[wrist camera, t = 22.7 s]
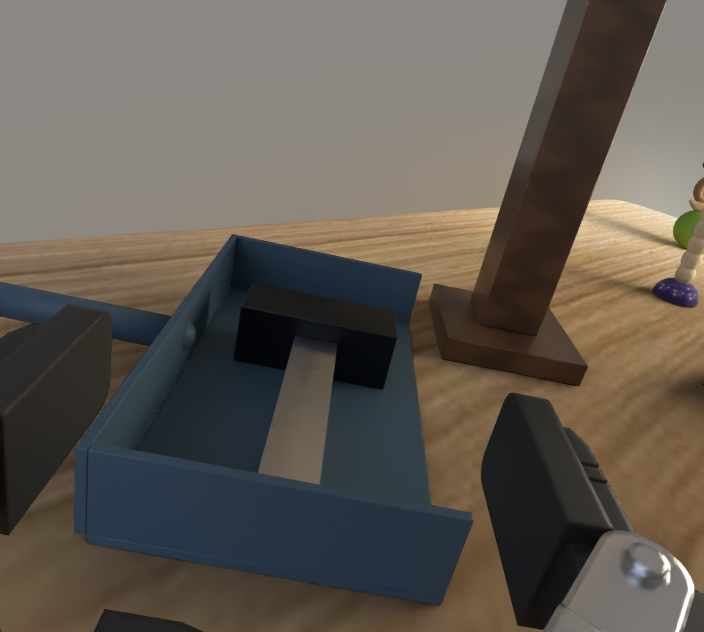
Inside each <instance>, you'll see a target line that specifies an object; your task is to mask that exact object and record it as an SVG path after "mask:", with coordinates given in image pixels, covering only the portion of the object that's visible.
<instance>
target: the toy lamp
mask: <svg viewBox="0 0 704 632" xmlns="http://www.w3.org/2000/svg"><path fill="white" fill-rule="evenodd" d="M703 167H704V163H703ZM703 253H704V207H703V209H702V211H701V214H700V220H699V221H698V222H697V223H696V225H695V227H694V230H693V236H692V237H691V238H690V239H689V241H688V244H687V251H686V252H685V253H684V254H683V256H682V259H681V265H680V266H679V267H678V269H677V271H676V273H675V278H667V279H664V280H662V281H660V282H659V283H657V284H656V285H655V287H654V288H653V290H652V292H653V293H654V294H655V295H656V296H658V297H660V298H662V299H664V300H666V301H668V302H671V303H674V304H677V305H681V306H687V307H694V306H697V304H698V298H699V297H698V292H697V290H696V289H695V287H694V286H693V285H691V284H690V283H691V282H692V281H693V279H694V277H695V274H696V269H697V268H698V267H699V265H700V264H701V261H702V254H703Z"/></svg>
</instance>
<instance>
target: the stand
mask: <svg viewBox="0 0 704 632" xmlns="http://www.w3.org/2000/svg"><path fill="white" fill-rule="evenodd" d="M666 2H667V0H568V1H567V4H566V7H565V10H564V13H563V16H562V19H561V22H560V25H559V28H558V31H557V35H556V38H555V41H554V44H553V47H552V50H551V53H550V57H549V59H548V62H547V66H546V69H545V72H544V75H543V78H542V81H541V84H540V87H539V90H538V93H537V96H536V100H535V103H534V106H533V109H532V112H531V115H530V118H529V121H528V124H527V128H526V130H525V134H524V137H523V140H522V143H521V146H520V149H519V152H518V155H517V158H516V162H515V165H514V168H513V171H512V174H511V177H510V180H509V183H508V186H507V189H506V192H505V196H504V199H503V202H502V205H501V208H500V211H499V214H498V217H497V220H496V223H495V226H494V229H493V233H492V236H491V239H490V242H489V245H488V248H487V251H486V254H485V257H484V260H483V263H482V267H481V270H480V273H479V276H478V279H477V282H476V285H475V288H474V291H473V292H472V291H468V290H463V289H458V288H453V287H448V286H444V285H439V284H434V286H433V289H432V292H431V296H430V299H429V302H430V307H431V312H432V316H433V321H434V325H435V330H436V334H437V339H438V344H439V348H440V353H441V357H442V358H443V359H448V360H453V361H458V362H463V363H468V364H473V365H478V366H483V367H488V368H492V369H497V370H502V371H507V372H512V373H517V374H522V375H527V376H532V377H537V378H542V379H547V380H552V381H557V382H562V383H567V384H572V385H577V386H580V384H581V381H582V379H583V377H584V375H585V372H586V370H587V368H588V366H587V364H586V363H585V361H584V360H583V358H582V357H581V355H580V354H579V352H578V351H577V349H576V348H575V346H574V345H573V343H572V342H571V340H570V339H569V337H568V336H567V334H566V333H565V331H564V330H563V328H562V327H561V325H560V324H559V322H558V321H557V319H556V318H555V316H554V315H553V313H552V312H551V310H550V309H549V304H550V302H551V299H552V297H553V294H554V291H555V289H556V286H557V284H558V281H559V279H560V276H561V273H562V271H563V268H564V266H565V263H566V261H567V258H568V255H569V253H570V250H571V248H572V245H573V242H574V240H575V237H576V235H577V232H578V230H579V227H580V224H581V222H582V219H583V217H584V214H585V211H586V209H587V206H588V204H589V201H590V198H591V196H592V193H593V191H594V188H595V185H596V183H597V180H598V178H599V175H600V173H601V170H602V168H603V165H604V162H605V160H606V157H607V155H608V152H609V149H610V147H611V144H612V142H613V139H614V137H615V134H616V131H617V129H618V126H619V124H620V121H621V118H622V116H623V113H624V111H625V108H626V106H627V103H628V100H629V98H630V95H631V93H632V90H633V87H634V85H635V82H636V80H637V77H638V75H639V72H640V69H641V67H642V64H643V62H644V59H645V57H646V54H647V51H648V49H649V46H650V43H651V41H652V38H653V36H654V33H655V31H656V28H657V25H658V23H659V20H660V18H661V15H662V12H663V10H664V7H665V5H666Z"/></svg>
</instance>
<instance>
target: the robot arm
mask: <svg viewBox="0 0 704 632" xmlns="http://www.w3.org/2000/svg"><path fill="white" fill-rule="evenodd" d="M111 345H112V317H111V314H110V313H109V312H108V311H103V310H98V309H93V308H88V307H83V306H78V305H72V304H68V305H66V306H65V307H63V308H62V309H61V310H60V311H59V312H58V313H56V314H55V315H54V316H53V317H52V318H51V319H49V320H48V321H47V322H46V323H45V324H44V325H43V324H38V323H32V324H30V325H27V326H25V327H22V328H19V329H17V330H14V331H11V332H9V333H7V334H6V335H5V336H3V337H2V338H1V339H0V534H4V535H9V534H10V533H11V531H12V530H13V529H14V527H15V526H16V525H17V523H18V522H19V521H20V519H21V518H22V517H23V515H24V514H25V512H26V511H27V510H28V508H29V507H30V506H31V504H32V503H33V502H34V500H35V499H36V498H37V496H38V495H39V493H40V492H41V491H42V489H43V488H44V487H45V485H46V484H47V483H48V481H49V480H50V479H51V477H52V476H53V474H54V473H55V472H56V470H57V469H58V468H59V466H60V465H61V464H62V462H63V461H64V460H65V458H66V457H67V455H68V454H69V453H70V451H71V450H72V449H73V447H74V446H75V445H76V443H77V442H78V441H79V439H80V438H81V436H82V435H83V434H84V432H85V431H86V430H87V428H88V427H89V426H90V424H91V423H92V422H93V420H94V419H95V417H96V416H97V415H98V413H99V412H100V410H101V409H102V407H103V405H104V403H105V400H106V397H107V394H108V390H109V385H110V370H111ZM481 481H482V487H483V491H484V495H485V499H486V502H487V506H488V510H489V514H490V518H491V522H492V526H493V530H494V534H495V538H496V542H497V546H498V550H499V554H500V558H501V562H502V566H503V570H504V574H505V578H506V582H507V586H508V590H509V594H510V598H511V601H512V605H513V609H514V613H515V617H516V621H517V625H518V626H523V627H529V628H535V629H541V630H543V632H704V594H703V593H701V592H699V591H696V590H694V585H693V582H692V579H691V577H690V576H689V574H688V572H687V571H686V569H685V568H684V567H683V565H682V564H681V563H680V562H679V561H678V560H677V559H676V558H675V557H674V556H673V555H672V554H671V553H670V552H668V551H667V550H666V549H664V548H663V547H661V546H660V545H658V544H657V543H655V542H653V541H652V540H650V539H648V538H646V537H643V536H641V535H639V534H636V533H635V531H634V529H633V527H632V525H631V523H630V522H629V520H628V518H627V516H626V514H625V512H624V511H623V509H622V507H621V505H620V503H619V501H618V499H617V498H616V496H615V494H614V492H613V490H612V488H611V487H610V485H607V479H606V477H605V475H604V474H603V472H602V470H601V469H599V464H598V463H597V461H596V459H595V457H594V455H593V453H592V451H591V450H590V448H589V446H588V445H587V444H586V443H585V442H584V441H583V440H582V439H581V438H579V437H578V436H577V435H576V434H575V433H574V432H573V431H572V430H571V429H570V428H565V427H563V426H562V424H561V422H560V420H559V418H558V416H557V414H556V412H555V410H554V408H553V406H552V404H551V403H550V401H549V400H547V399H542V398H537V397H532V396H527V395H522V394H517V393H510V394H509V395H508V396H507V397H506V399H505V401H504V403H503V405H502V408H501V411H500V413H499V416H498V419H497V421H496V424H495V426H494V429H493V432H492V434H491V437H490V440H489V442H488V445H487V448H486V450H485V453H484V456H483V461H482V468H481ZM0 632H1V630H0ZM94 632H203V631H201V630H198V629H196V628H194V627H192V626H189V625H187V624H185V623H183V622H178V621H172V620H166V619H160V618H154V617H148V616H142V615H136V614H130V613H124V612H119V611H113V610H107V609H104V611H103V613H102V615H101V617H100V620H99V622H98V624H97V626H96V628H95V630H94Z"/></svg>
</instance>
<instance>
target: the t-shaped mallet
mask: <svg viewBox="0 0 704 632" xmlns="http://www.w3.org/2000/svg"><path fill="white" fill-rule="evenodd" d="M396 342H397V326H396V313H395V312H394V311H389V310H384V309H379V308H374V307H369V306H365V305H360V304H355V303H350V302H345V301H340V300H336V299H331V298H326V297H321V296H316V295H311V294H307V293H302V292H297V291H292V290H287V289H282V288H278V287H273V286H268V285H263V284H258V283H253V284H252V286H251V288H250V290H249V292H248V294H247V296H246V298H245V299H244V301H243V303H242V305H241V310H240V317H239V324H238V331H237V338H236V345H235V352H234V360H236V361H241V362H246V363H251V364H256V365H261V366H266V367H271V368H276V369H281V370H285V373H284V377H283V381H282V384H281V388H280V392H279V395H278V399H277V402H276V406H275V410H274V413H273V417H272V421H271V424H270V428H269V432H268V435H267V439H266V442H265V446H264V450H263V453H262V457H261V461H260V464H259V468H258V472H257V473H261V474H266V475H271V476H277V477H282V478H287V479H293V480H298V481H304V482H309V483H314V484H320V479H321V471H322V463H323V455H324V447H325V439H326V431H327V423H328V415H329V407H330V399H331V391H332V383H333V380H336V381H341V382H346V383H351V384H356V385H361V386H366V387H371V388H376V389H381V390H383V389H384V386H385V382H386V378H387V375H388V371H389V367H390V364H391V360H392V356H393V353H394V349H395V345H396Z"/></svg>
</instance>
